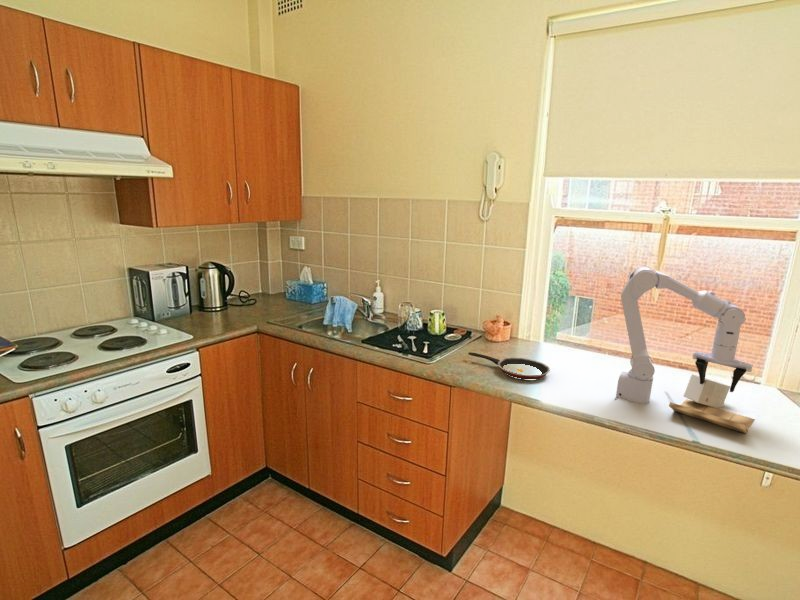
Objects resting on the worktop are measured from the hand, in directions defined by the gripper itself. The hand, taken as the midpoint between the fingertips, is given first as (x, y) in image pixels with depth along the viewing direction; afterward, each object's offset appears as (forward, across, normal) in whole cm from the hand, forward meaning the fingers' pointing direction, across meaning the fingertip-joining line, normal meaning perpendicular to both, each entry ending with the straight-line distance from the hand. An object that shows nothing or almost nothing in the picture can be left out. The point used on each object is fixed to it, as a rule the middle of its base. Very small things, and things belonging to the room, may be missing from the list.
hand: (716, 387), depth 135 cm
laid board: (+10, -1, 0) cm, 10 cm away
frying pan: (+10, +63, +17) cm, 66 cm away
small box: (+6, +1, -10) cm, 12 cm away
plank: (+7, -1, +11) cm, 13 cm away
